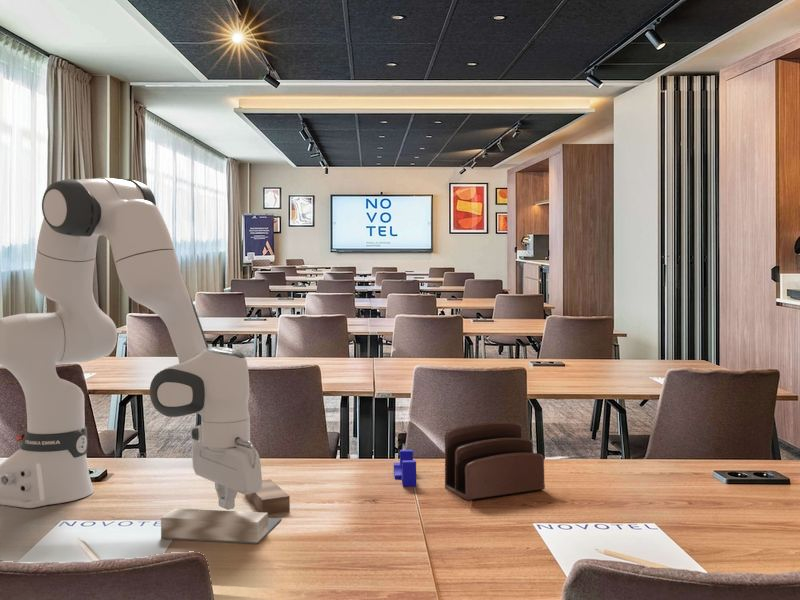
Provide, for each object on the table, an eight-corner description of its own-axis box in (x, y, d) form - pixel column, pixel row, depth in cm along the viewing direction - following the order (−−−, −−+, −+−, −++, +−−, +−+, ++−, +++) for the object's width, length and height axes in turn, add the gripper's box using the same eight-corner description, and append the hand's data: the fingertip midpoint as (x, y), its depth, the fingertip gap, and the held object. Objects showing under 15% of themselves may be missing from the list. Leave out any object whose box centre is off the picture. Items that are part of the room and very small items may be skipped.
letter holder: (444, 489, 161) (443, 425, 161) (520, 479, 169) (520, 418, 169) (465, 501, 152) (465, 434, 152) (545, 490, 160) (545, 426, 160)
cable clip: (393, 475, 173) (393, 450, 173) (412, 474, 174) (412, 449, 174) (396, 489, 161) (395, 462, 161) (416, 488, 162) (416, 461, 162)
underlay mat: (161, 538, 130) (161, 537, 130) (193, 515, 143) (193, 514, 143) (257, 543, 127) (257, 542, 127) (281, 520, 140) (281, 518, 140)
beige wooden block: (161, 537, 130) (160, 517, 130) (175, 527, 135) (175, 508, 135) (257, 542, 127) (257, 522, 127) (267, 531, 133) (267, 512, 132)
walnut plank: (245, 498, 156) (245, 482, 155) (270, 495, 158) (270, 479, 158) (262, 517, 143) (262, 499, 143) (289, 513, 145) (289, 496, 145)
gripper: (270, 440, 131) (270, 516, 131) (215, 424, 146) (216, 492, 146) (238, 445, 126) (239, 524, 127) (185, 428, 142) (186, 499, 142)
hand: (226, 507), depth 137 cm, fingers closed
